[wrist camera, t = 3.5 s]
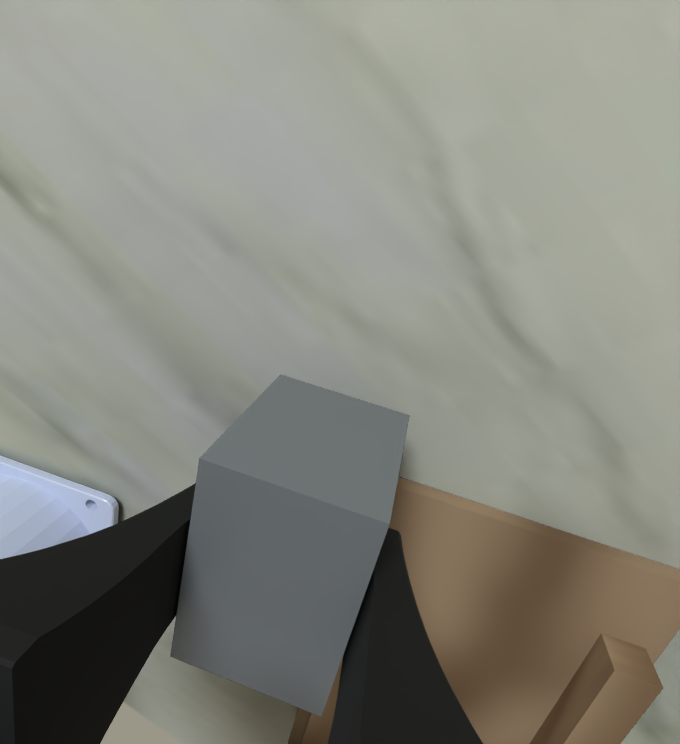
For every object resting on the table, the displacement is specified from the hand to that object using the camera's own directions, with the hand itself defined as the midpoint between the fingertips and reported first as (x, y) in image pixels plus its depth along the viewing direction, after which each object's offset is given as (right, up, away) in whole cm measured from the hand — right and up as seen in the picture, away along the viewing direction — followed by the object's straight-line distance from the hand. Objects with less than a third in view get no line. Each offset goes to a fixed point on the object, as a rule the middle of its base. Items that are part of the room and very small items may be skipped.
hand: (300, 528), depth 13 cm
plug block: (0, +1, +2) cm, 2 cm away
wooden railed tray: (+6, -7, +6) cm, 11 cm away
